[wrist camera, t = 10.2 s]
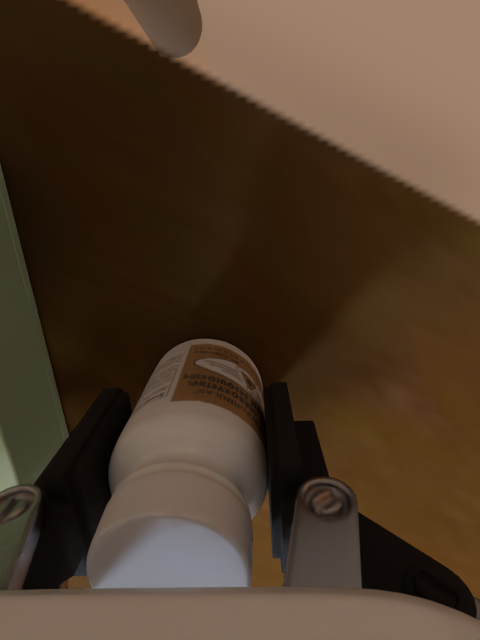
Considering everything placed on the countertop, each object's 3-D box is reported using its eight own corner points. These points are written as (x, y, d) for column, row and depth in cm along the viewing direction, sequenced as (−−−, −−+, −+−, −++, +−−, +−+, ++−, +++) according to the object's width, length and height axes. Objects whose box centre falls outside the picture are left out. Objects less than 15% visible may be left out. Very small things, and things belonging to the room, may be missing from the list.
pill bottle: (284, 386, 15) (321, 580, 7) (210, 448, 16) (177, 671, 8) (205, 312, 14) (155, 452, 6) (131, 384, 15) (17, 574, 7)
